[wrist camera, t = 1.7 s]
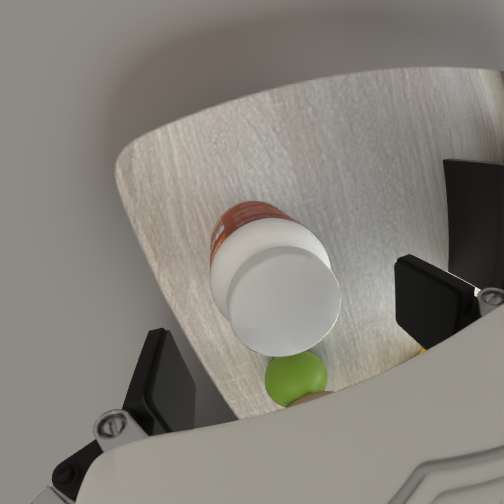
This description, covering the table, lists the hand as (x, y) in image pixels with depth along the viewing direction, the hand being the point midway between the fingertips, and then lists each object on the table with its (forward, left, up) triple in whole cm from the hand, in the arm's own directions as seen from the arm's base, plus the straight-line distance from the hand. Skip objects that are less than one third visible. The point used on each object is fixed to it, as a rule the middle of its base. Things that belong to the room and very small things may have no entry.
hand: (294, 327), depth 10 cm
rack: (+3, +28, -12) cm, 30 cm away
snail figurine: (+12, +1, -12) cm, 17 cm away
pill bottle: (0, 0, -12) cm, 12 cm away
